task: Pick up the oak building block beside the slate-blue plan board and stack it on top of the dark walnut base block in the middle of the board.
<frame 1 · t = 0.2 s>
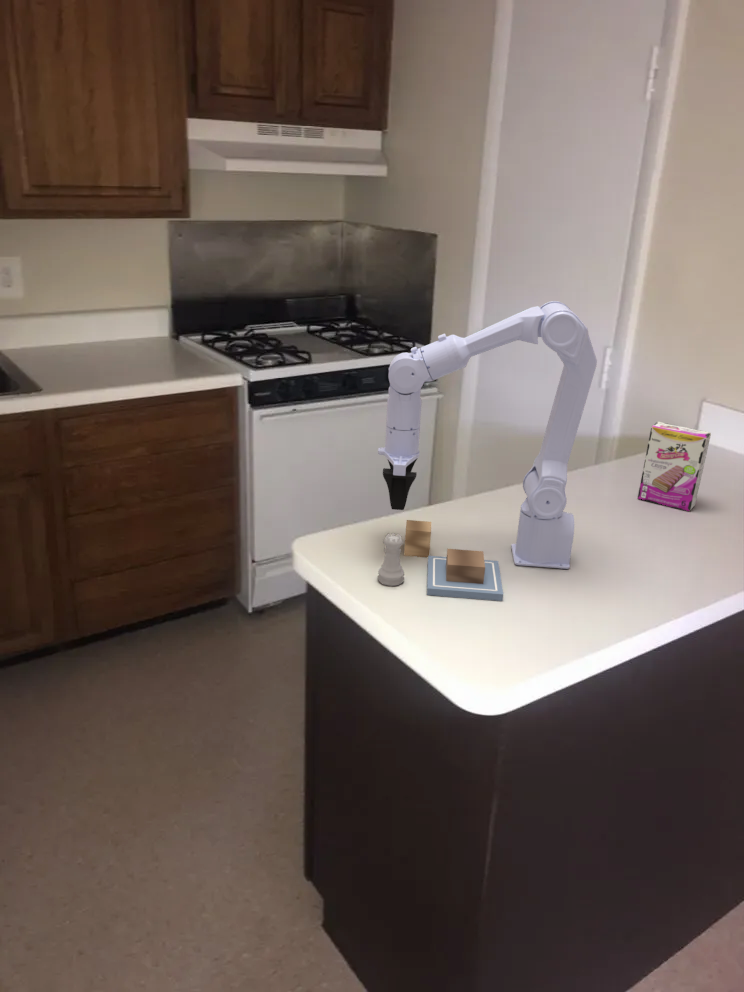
hand: (398, 500, 144), 9 cm above the countertop, tool pointing down, fingers open, 7 cm apart
rook chess piece: (390, 581, 136), on the countertop
oak block: (416, 551, 147), on the countertop
candy bar box: (666, 503, 175), on the countertop
plan board: (463, 580, 137), on the countertop
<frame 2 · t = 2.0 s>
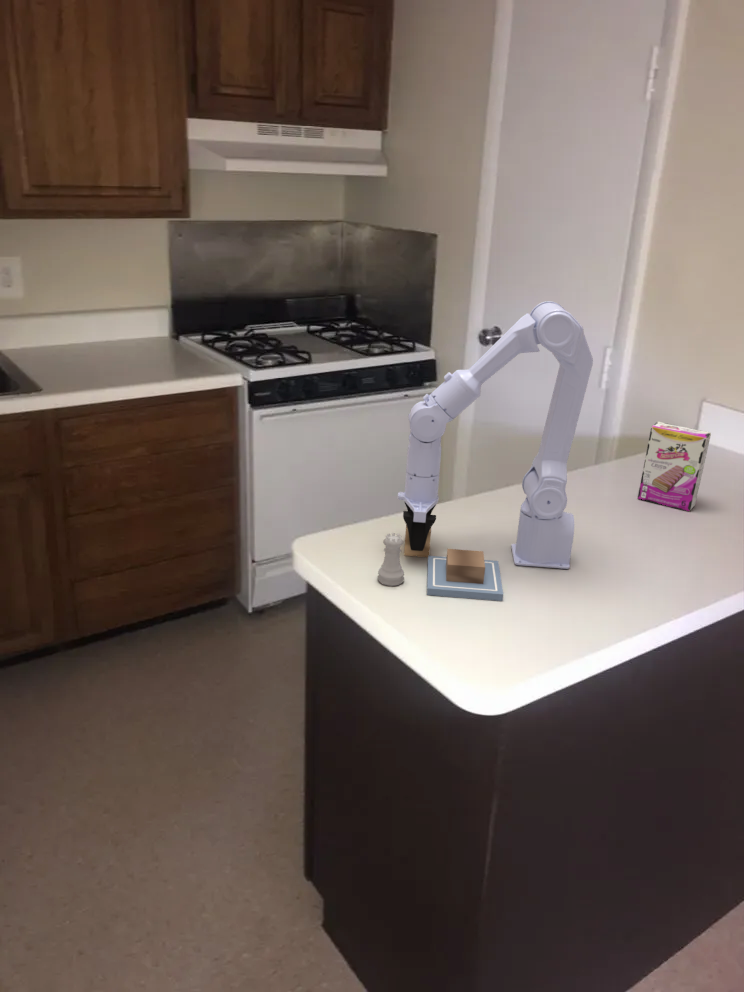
hand: (417, 543, 146), 1 cm above the countertop, tool pointing down, fingers closed on oak block, 4 cm apart
oak block: (416, 551, 147), on the countertop, touching gripper
everything else where it was.
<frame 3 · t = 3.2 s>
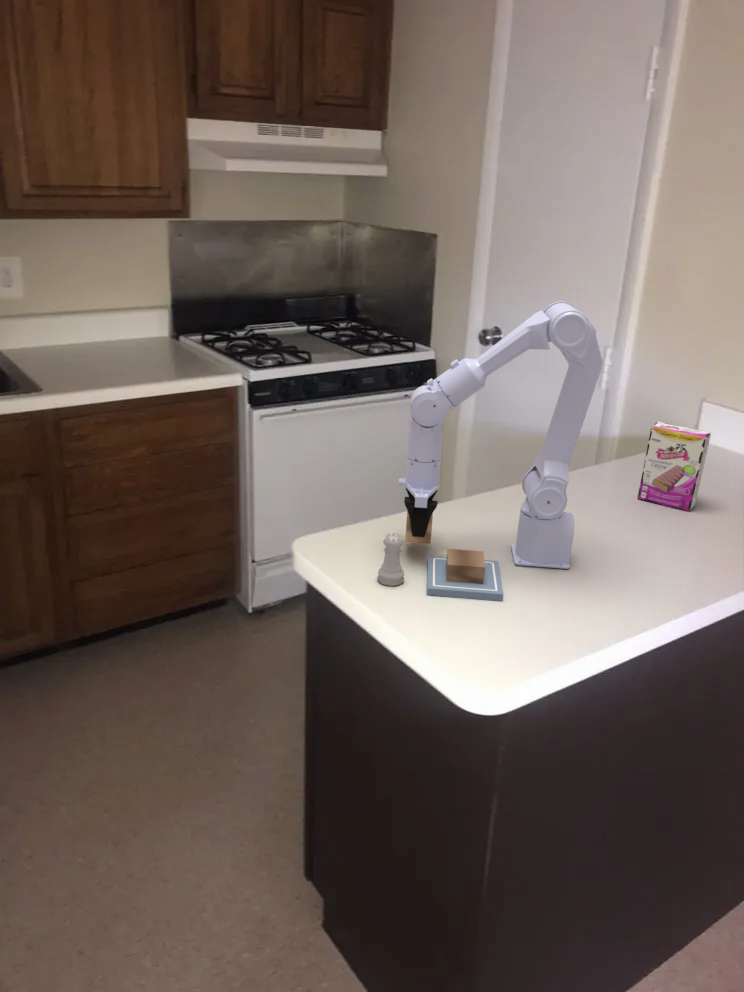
hand: (418, 530, 145), 4 cm above the countertop, tool pointing down, fingers closed on oak block, 4 cm apart
oak block: (418, 537, 146), point 3 cm above the countertop, touching gripper
everything else where it was.
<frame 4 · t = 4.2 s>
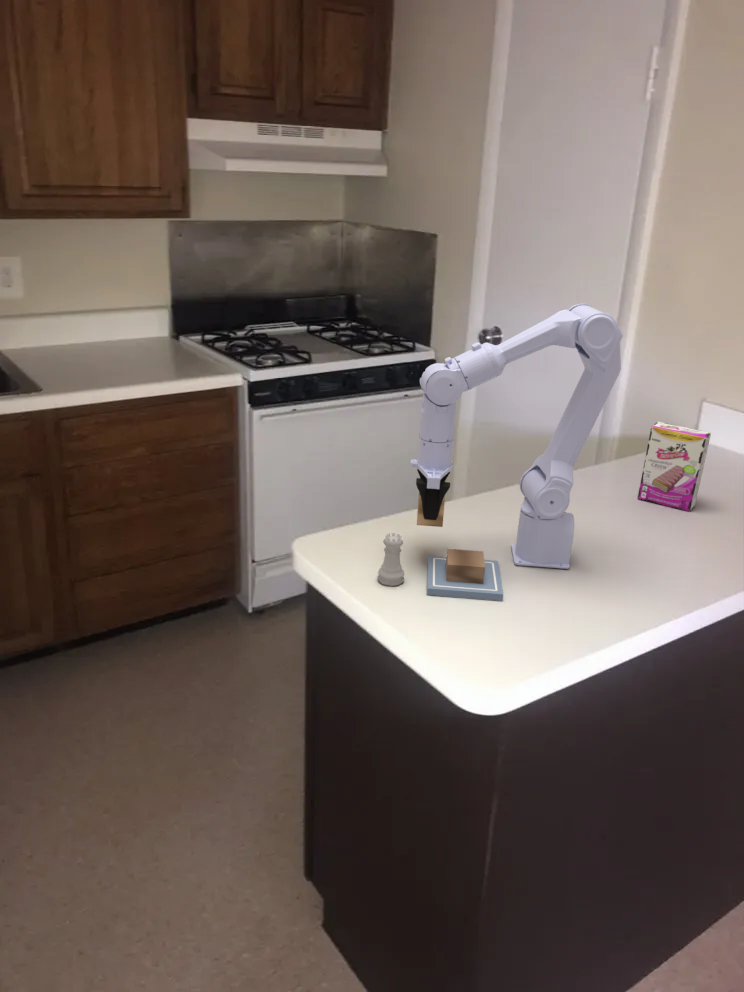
hand: (430, 513, 142), 8 cm above the countertop, tool pointing down, fingers closed on oak block, 4 cm apart
oak block: (429, 520, 142), point 7 cm above the countertop, touching gripper
everything else where it was.
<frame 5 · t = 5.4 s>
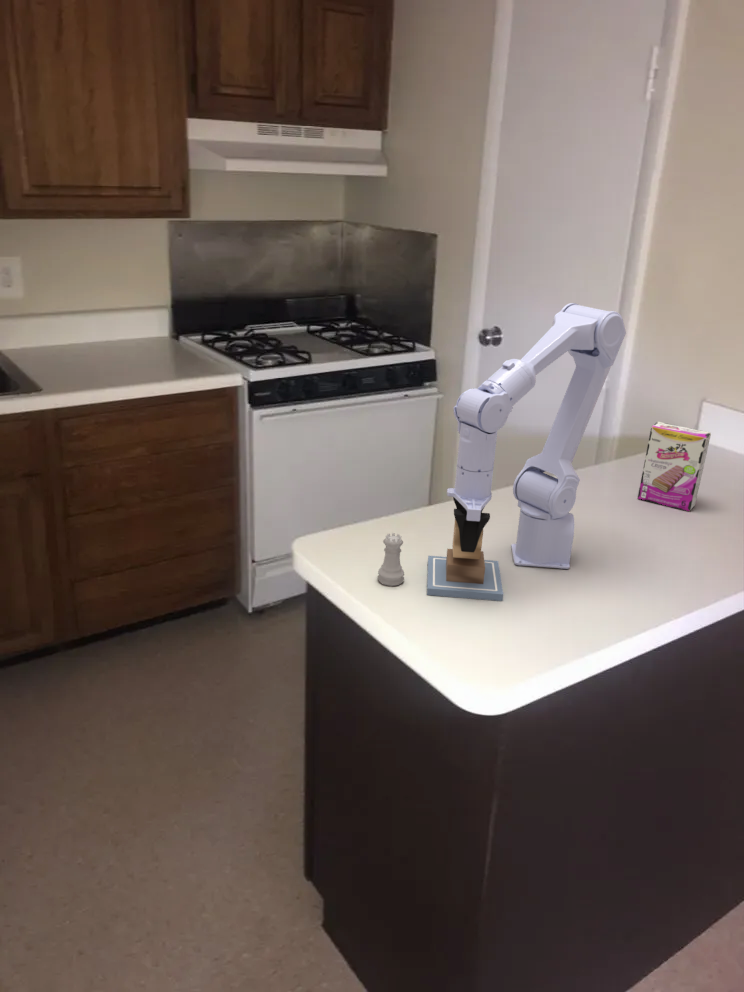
hand: (467, 544, 135), 7 cm above the countertop, tool pointing down, fingers closed on oak block, 4 cm apart
oak block: (466, 552, 135), point 5 cm above the countertop, touching gripper
everything else where it was.
when the fingers open (7 cm above the countertop, at t = 6.2 s): oak block stays where it is, resting on plan board.
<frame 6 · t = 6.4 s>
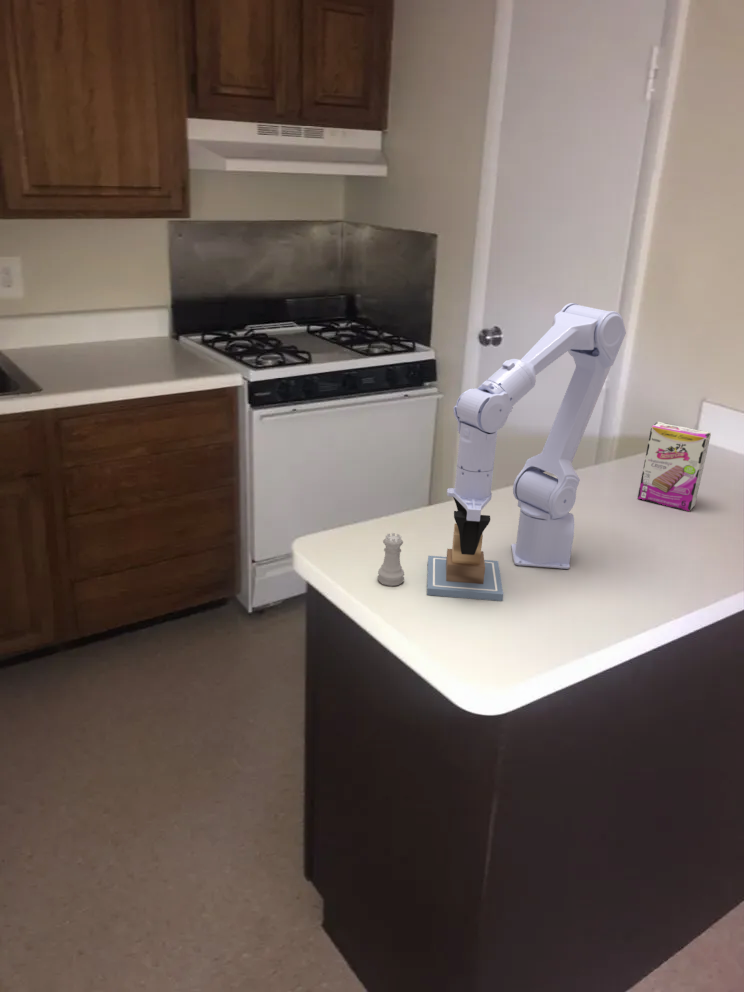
hand: (467, 544, 135), 7 cm above the countertop, tool pointing down, fingers open, 6 cm apart
oak block: (465, 557, 136), point 4 cm above the countertop, touching plan board
everything else where it was.
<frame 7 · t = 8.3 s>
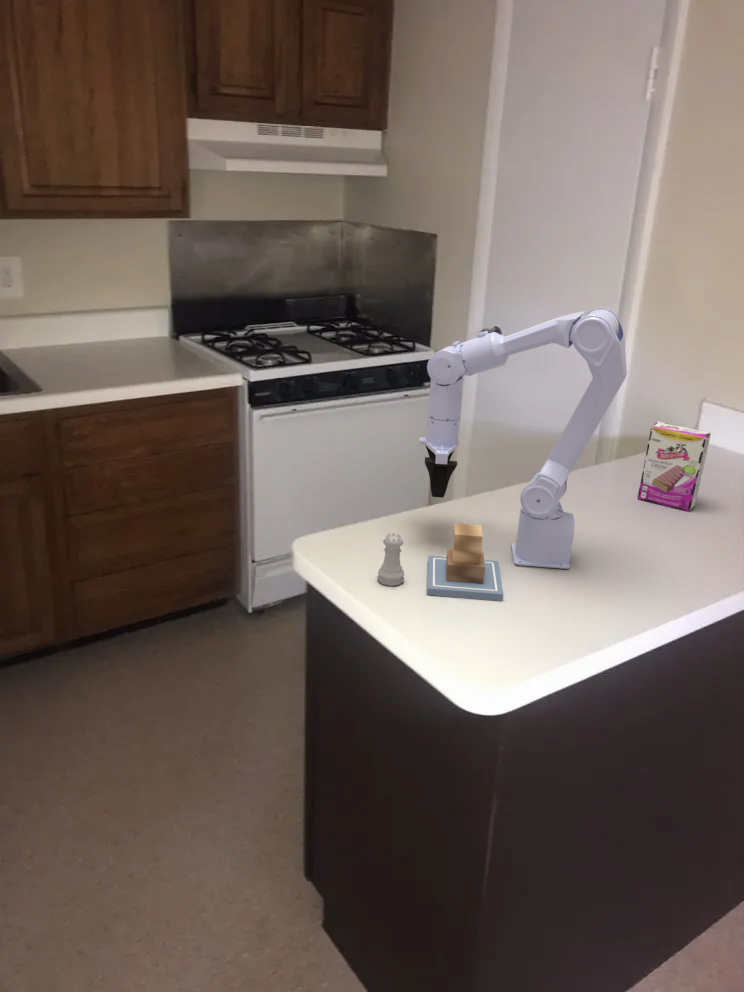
hand: (437, 488, 150), 9 cm above the countertop, tool pointing down, fingers open, 7 cm apart
nothing on the countertop moved.
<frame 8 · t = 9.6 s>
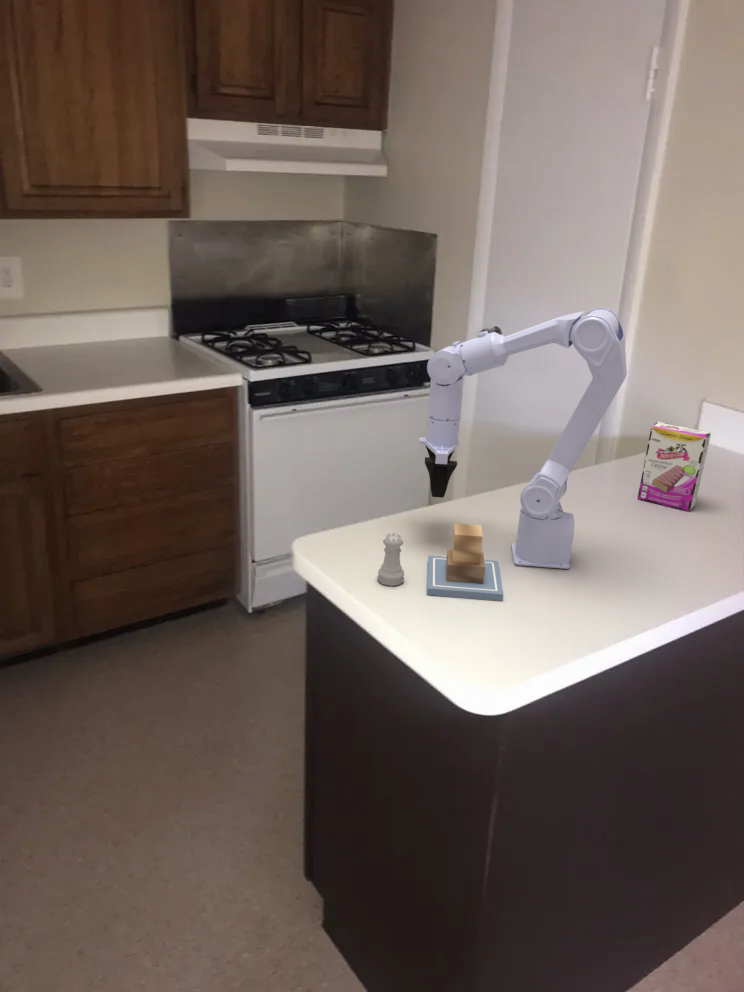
hand: (437, 488, 150), 9 cm above the countertop, tool pointing down, fingers open, 7 cm apart
nothing on the countertop moved.
at the end: oak block 0.0 cm off-centre on the plan board, point 4.2 cm above the plan board's base; oak block tilted 0°; the gripper is holding nothing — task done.
